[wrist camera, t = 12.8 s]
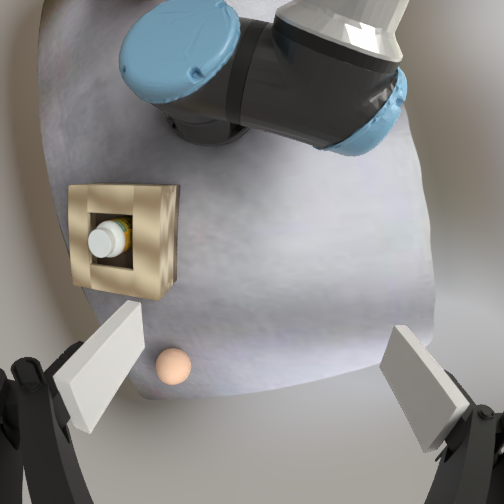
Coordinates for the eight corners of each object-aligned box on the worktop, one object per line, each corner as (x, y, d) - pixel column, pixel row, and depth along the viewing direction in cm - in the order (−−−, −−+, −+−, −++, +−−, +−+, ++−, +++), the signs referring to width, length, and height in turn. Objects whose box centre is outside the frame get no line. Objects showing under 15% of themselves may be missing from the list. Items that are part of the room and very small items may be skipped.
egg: (156, 351, 51) (142, 375, 43) (176, 335, 49) (164, 359, 42) (179, 372, 52) (169, 398, 44) (201, 358, 50) (193, 384, 43)
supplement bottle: (112, 239, 43) (80, 253, 34) (119, 210, 42) (87, 218, 32) (138, 251, 43) (110, 268, 34) (146, 221, 42) (118, 232, 33)
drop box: (97, 182, 43) (68, 185, 34) (180, 185, 42) (161, 186, 34) (99, 268, 47) (73, 284, 38) (176, 279, 46) (159, 300, 38)
